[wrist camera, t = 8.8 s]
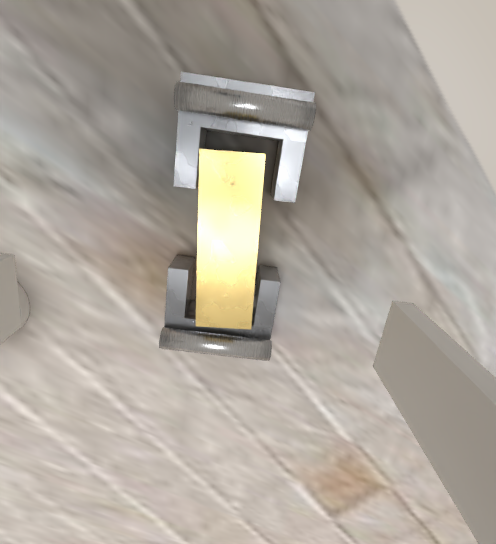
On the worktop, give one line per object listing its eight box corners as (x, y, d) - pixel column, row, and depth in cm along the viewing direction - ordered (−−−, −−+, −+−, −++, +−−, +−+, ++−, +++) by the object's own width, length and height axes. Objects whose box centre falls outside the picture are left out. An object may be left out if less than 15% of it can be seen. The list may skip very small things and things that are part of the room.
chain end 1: (189, 82, 24) (175, 64, 20) (305, 100, 25) (320, 87, 20) (182, 182, 27) (168, 188, 22) (288, 197, 27) (298, 206, 22)
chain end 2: (177, 254, 29) (163, 274, 24) (276, 267, 29) (282, 290, 24) (171, 328, 31) (158, 360, 26) (264, 338, 31) (267, 372, 27)
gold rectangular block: (209, 149, 26) (199, 148, 21) (261, 153, 26) (265, 153, 21) (205, 293, 30) (195, 326, 24) (250, 296, 30) (251, 329, 25)
